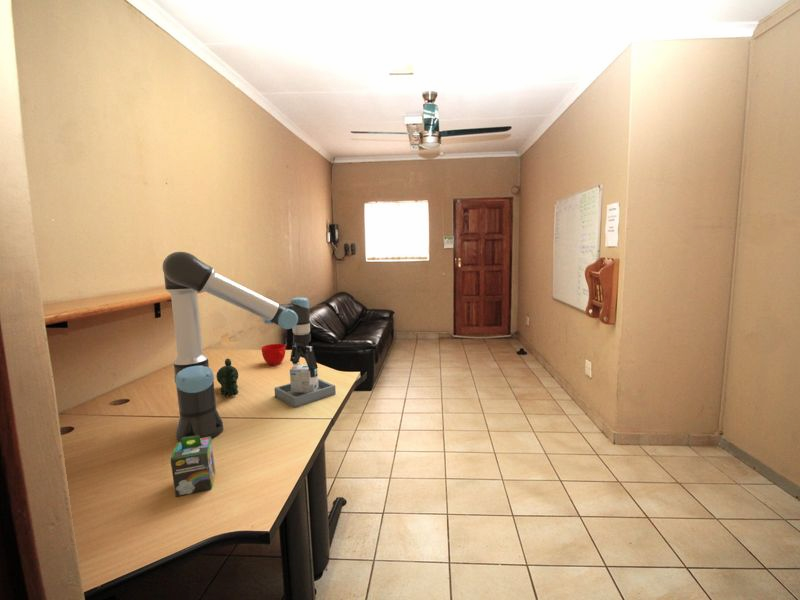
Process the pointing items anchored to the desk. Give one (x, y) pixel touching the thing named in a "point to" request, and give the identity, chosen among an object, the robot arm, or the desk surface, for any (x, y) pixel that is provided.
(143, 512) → the desk surface
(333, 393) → the gray tray
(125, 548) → the desk surface
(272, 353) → the ceramic cup
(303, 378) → the light bulb box
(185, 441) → the chalk box
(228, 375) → the toy figurine
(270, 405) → the desk surface
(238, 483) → the desk surface
